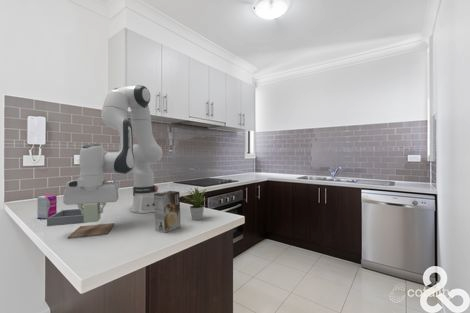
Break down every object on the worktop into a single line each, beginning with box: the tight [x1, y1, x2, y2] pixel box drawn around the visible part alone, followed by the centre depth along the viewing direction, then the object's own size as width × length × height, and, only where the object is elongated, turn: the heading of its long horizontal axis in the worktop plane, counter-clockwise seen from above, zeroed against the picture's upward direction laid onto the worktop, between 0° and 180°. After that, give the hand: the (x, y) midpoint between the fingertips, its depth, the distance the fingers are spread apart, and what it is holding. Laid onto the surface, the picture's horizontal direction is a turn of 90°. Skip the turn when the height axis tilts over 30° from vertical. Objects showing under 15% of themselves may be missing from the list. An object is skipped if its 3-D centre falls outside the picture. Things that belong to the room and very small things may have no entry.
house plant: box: [181, 187, 210, 221], centre depth 114 cm, size 14×14×16 cm
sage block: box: [83, 203, 102, 224], centre depth 96 cm, size 5×5×8 cm
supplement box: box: [36, 194, 58, 220], centre depth 118 cm, size 6×6×12 cm
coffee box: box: [154, 190, 181, 234], centre depth 98 cm, size 9×6×16 cm
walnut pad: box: [67, 222, 116, 239], centre depth 97 cm, size 14×14×1 cm
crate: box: [46, 208, 85, 227], centre depth 114 cm, size 16×16×4 cm
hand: (92, 213), depth 96 cm, fingers closed on sage block, 5 cm apart
